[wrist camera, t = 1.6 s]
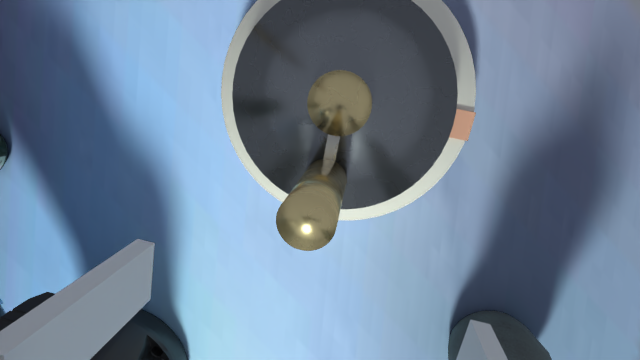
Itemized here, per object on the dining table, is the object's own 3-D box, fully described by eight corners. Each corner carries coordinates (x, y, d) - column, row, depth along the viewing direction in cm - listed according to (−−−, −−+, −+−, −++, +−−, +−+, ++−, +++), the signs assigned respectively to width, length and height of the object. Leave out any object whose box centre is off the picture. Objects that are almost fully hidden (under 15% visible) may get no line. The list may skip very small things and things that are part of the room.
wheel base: (221, 184, 39) (207, 194, 36) (248, -49, 33) (234, -64, 29) (430, 230, 37) (436, 245, 34) (499, -7, 31) (514, -18, 28)
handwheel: (254, -32, 30) (182, -104, 18) (480, 6, 28) (555, -45, 17) (229, 179, 35) (159, 227, 23) (420, 221, 33) (447, 294, 22)
